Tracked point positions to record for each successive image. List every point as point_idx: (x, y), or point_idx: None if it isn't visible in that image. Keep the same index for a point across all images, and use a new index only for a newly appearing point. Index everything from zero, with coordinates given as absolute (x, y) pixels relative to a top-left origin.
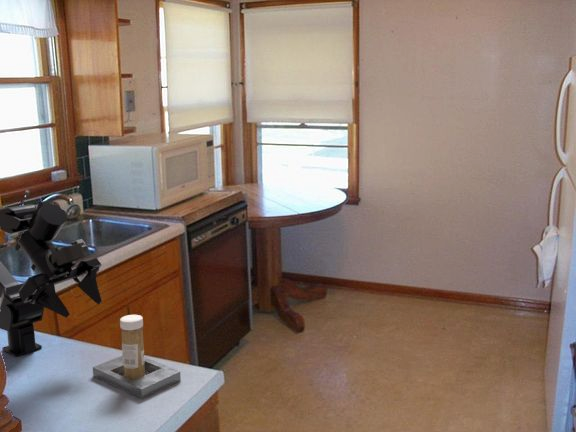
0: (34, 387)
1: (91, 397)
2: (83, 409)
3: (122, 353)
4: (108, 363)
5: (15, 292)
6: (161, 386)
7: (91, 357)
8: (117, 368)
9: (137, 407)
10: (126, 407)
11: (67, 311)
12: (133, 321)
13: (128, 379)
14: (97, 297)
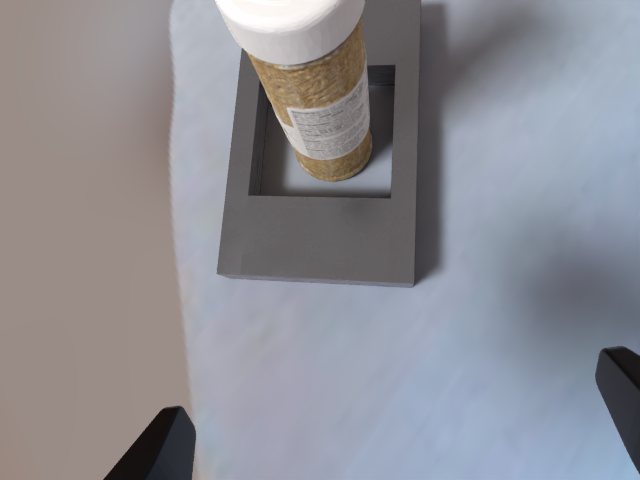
0: None
1: (522, 150)
2: (592, 101)
3: (362, 111)
4: (350, 258)
5: None
6: None
7: (300, 449)
8: (354, 199)
9: None
10: (486, 12)
11: (636, 369)
12: None
13: (397, 85)
14: (164, 455)
